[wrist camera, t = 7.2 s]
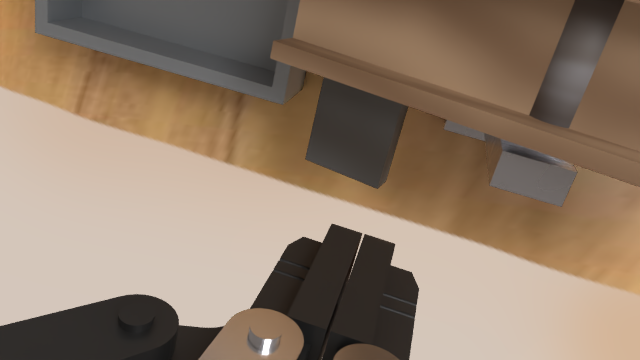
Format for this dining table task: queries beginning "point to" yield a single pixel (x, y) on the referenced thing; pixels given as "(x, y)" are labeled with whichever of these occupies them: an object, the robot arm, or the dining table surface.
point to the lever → (472, 77)
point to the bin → (186, 38)
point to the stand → (522, 168)
